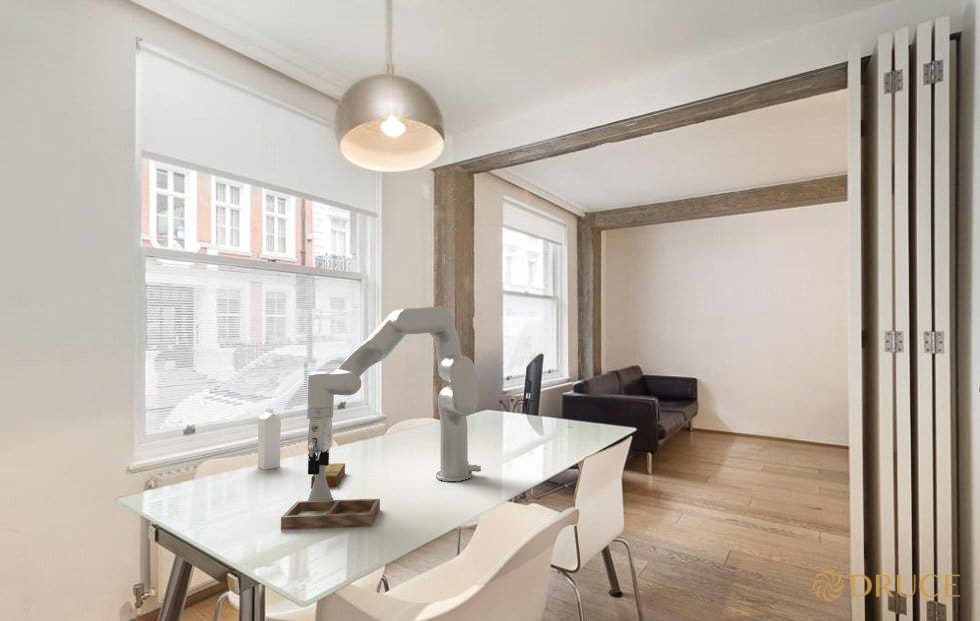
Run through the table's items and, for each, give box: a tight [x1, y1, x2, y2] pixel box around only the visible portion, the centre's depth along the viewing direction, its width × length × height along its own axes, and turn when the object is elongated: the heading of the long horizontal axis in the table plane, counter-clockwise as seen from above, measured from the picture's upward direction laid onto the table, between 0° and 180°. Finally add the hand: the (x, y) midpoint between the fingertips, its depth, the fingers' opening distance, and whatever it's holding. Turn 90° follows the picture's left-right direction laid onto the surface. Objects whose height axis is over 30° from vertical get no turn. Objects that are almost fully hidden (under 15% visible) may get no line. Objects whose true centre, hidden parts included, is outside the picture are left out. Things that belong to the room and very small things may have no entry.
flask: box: [307, 465, 334, 501], centre depth 145 cm, size 7×7×10 cm
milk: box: [257, 408, 282, 471], centre depth 184 cm, size 6×6×22 cm
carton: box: [310, 462, 346, 490], centre depth 165 cm, size 8×16×4 cm, turn 7°
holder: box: [280, 498, 381, 530], centre depth 129 cm, size 23×12×3 cm, turn 93°
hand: (318, 469), depth 145 cm, fingers open, 9 cm apart
